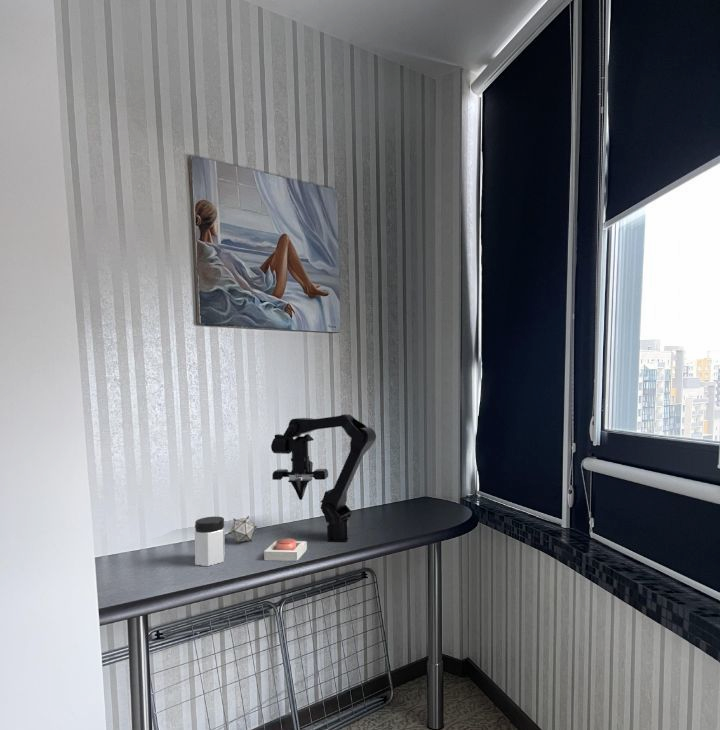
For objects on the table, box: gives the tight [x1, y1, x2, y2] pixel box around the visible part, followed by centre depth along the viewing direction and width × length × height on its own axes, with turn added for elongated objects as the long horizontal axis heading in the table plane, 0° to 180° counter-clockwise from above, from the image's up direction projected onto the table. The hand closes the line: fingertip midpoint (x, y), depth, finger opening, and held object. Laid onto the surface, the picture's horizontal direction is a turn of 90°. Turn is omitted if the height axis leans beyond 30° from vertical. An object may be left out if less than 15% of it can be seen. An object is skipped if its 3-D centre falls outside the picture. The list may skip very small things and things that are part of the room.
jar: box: [194, 516, 226, 567], centre depth 137 cm, size 9×8×12 cm
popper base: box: [263, 540, 308, 562], centre depth 140 cm, size 10×10×2 cm
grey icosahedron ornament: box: [227, 515, 258, 545], centre depth 154 cm, size 9×8×10 cm
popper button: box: [275, 537, 297, 550], centre depth 140 cm, size 6×6×4 cm
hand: (301, 499), depth 160 cm, fingers closed
